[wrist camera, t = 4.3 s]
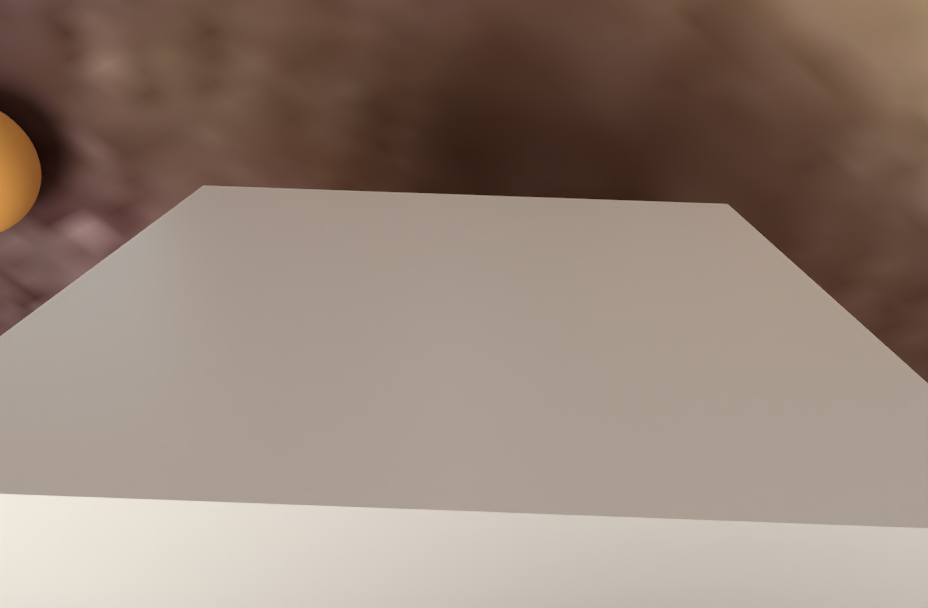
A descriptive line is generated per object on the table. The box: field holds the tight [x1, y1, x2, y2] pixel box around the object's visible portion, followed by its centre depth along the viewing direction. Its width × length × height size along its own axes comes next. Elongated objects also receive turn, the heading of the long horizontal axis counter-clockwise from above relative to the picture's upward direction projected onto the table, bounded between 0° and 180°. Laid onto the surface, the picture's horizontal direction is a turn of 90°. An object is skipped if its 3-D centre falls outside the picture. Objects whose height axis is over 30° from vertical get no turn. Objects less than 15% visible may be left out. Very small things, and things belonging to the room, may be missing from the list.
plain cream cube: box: [0, 186, 928, 608], centre depth 12 cm, size 10×10×9 cm
